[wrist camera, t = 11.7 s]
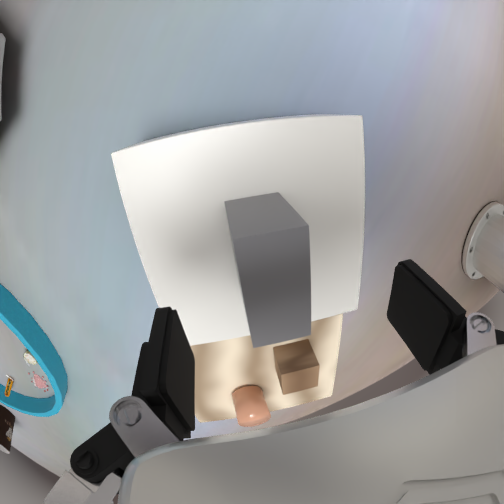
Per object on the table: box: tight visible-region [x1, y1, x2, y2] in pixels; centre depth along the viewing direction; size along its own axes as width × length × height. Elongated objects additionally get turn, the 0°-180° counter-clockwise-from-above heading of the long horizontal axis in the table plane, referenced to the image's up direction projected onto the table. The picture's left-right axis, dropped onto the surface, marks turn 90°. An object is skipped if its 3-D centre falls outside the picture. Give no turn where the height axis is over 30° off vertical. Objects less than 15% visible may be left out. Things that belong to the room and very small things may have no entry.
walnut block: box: [273, 339, 320, 395], centre depth 28 cm, size 4×4×4 cm
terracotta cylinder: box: [232, 386, 271, 427], centre depth 31 cm, size 4×4×4 cm
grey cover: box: [111, 114, 365, 348], centre depth 18 cm, size 14×14×13 cm
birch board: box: [190, 313, 343, 422], centre depth 33 cm, size 20×17×2 cm
